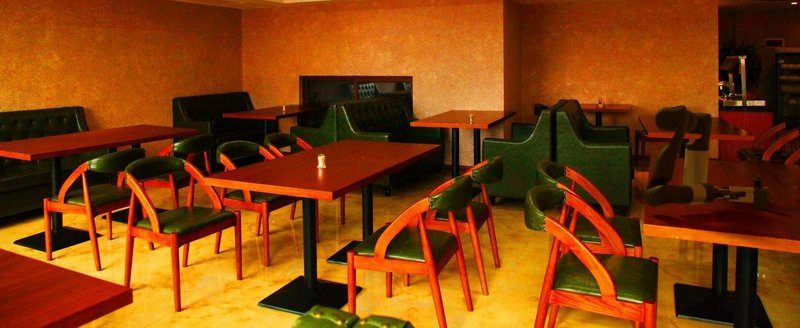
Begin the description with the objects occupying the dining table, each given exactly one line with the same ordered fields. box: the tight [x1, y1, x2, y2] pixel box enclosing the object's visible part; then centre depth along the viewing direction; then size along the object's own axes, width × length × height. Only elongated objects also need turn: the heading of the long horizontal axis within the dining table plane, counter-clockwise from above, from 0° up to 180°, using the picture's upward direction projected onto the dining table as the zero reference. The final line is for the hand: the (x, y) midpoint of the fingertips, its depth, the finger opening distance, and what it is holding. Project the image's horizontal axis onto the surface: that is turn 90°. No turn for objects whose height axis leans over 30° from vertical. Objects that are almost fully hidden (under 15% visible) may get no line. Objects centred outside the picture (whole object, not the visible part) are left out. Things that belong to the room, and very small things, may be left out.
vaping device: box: [752, 176, 770, 210], centre depth 235 cm, size 3×5×12 cm, turn 50°
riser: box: [728, 185, 754, 204], centre depth 251 cm, size 11×11×4 cm
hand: (736, 191), depth 233 cm, fingers open, 8 cm apart
